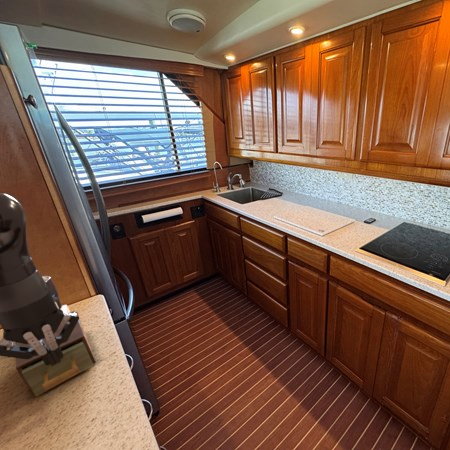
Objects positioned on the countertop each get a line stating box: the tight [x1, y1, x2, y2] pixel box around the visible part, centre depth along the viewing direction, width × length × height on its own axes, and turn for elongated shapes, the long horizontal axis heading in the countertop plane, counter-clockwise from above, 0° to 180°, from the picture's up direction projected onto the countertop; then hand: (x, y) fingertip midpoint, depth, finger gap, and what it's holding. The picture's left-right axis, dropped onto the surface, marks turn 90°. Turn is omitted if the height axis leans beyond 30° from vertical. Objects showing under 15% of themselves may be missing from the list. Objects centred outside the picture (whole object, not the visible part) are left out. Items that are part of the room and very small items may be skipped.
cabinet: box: [15, 310, 97, 397], centre depth 60 cm, size 14×11×9 cm
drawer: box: [22, 340, 94, 397], centre depth 57 cm, size 18×10×7 cm, turn 49°
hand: (55, 362), depth 52 cm, fingers closed
